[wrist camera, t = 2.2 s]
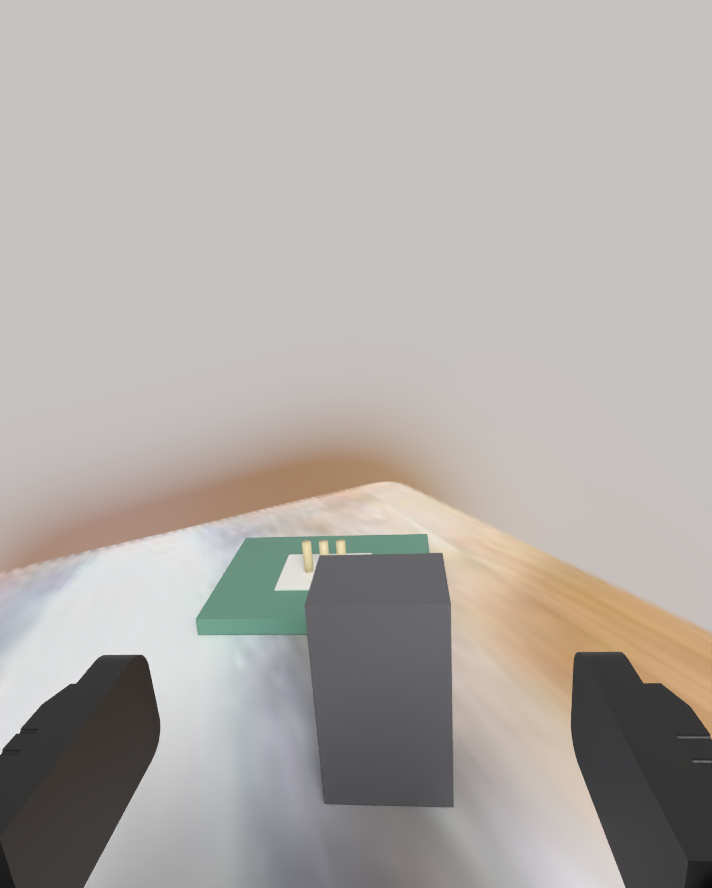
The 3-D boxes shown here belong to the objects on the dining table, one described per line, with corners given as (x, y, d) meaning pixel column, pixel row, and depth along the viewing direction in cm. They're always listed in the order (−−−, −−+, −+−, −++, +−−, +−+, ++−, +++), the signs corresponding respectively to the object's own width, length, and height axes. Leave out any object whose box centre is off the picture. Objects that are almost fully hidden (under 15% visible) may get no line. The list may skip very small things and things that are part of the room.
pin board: (198, 634, 35) (190, 586, 34) (247, 550, 47) (242, 512, 46) (437, 633, 34) (436, 583, 33) (427, 546, 45) (426, 507, 44)
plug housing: (324, 803, 23) (304, 605, 20) (335, 730, 27) (319, 555, 24) (453, 807, 22) (450, 604, 20) (445, 731, 26) (442, 553, 23)
